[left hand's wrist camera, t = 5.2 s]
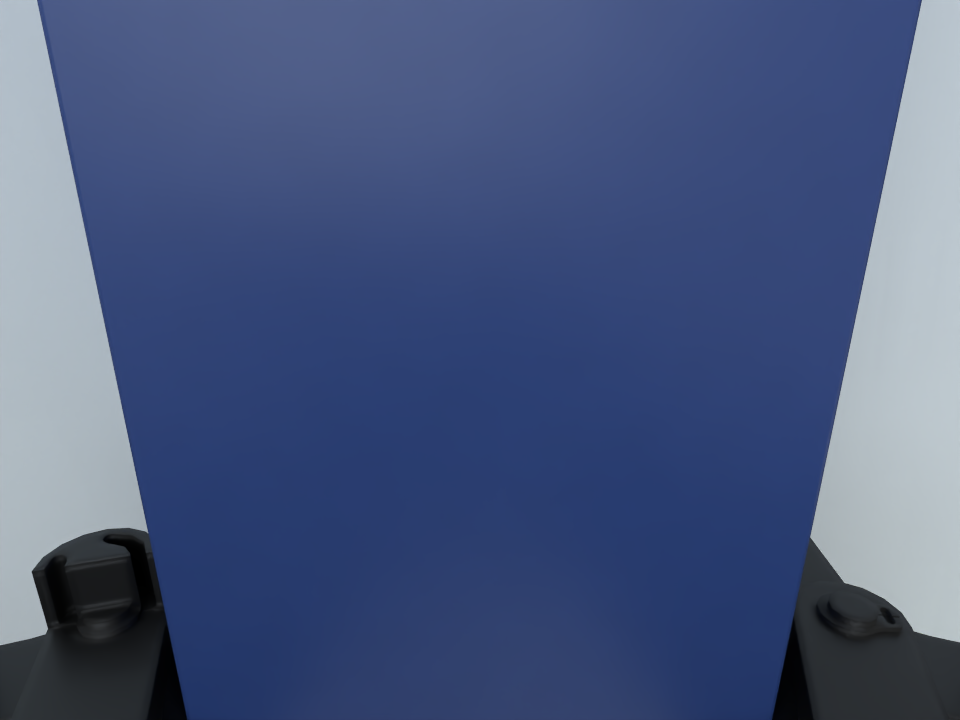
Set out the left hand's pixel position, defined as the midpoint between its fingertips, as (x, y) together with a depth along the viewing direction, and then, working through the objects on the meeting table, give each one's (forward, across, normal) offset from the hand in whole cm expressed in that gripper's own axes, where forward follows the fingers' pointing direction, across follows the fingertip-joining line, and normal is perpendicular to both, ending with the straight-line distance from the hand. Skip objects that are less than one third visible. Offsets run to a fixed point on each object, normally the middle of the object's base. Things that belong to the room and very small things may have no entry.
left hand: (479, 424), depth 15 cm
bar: (+1, 0, -10) cm, 10 cm away
